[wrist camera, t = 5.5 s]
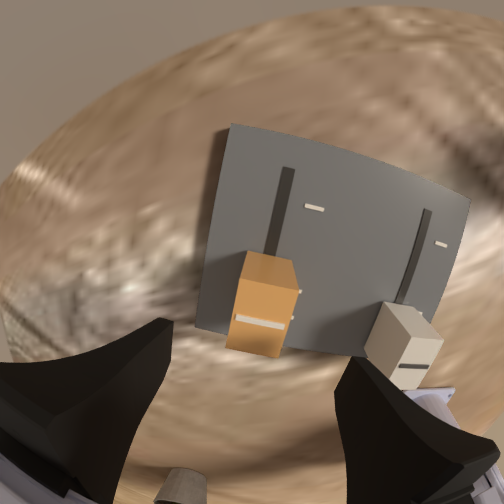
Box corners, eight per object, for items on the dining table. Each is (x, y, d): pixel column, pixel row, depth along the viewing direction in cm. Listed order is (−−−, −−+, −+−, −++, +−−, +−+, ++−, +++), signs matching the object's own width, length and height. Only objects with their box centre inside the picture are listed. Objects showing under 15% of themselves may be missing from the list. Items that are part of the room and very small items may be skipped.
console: (406, 353, 20) (411, 361, 19) (198, 319, 20) (194, 327, 19) (462, 197, 17) (471, 199, 15) (233, 126, 17) (230, 122, 15)
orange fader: (276, 315, 18) (278, 359, 14) (235, 306, 18) (225, 348, 14) (291, 260, 17) (299, 291, 13) (247, 250, 17) (239, 278, 13)
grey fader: (393, 351, 19) (416, 390, 14) (363, 347, 19) (383, 390, 14) (413, 306, 18) (445, 341, 13) (383, 301, 18) (412, 337, 13)
